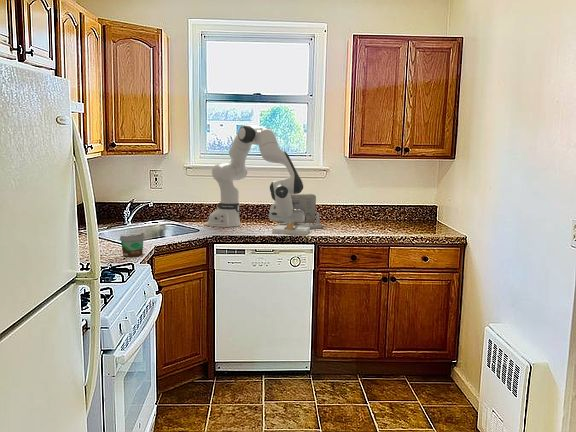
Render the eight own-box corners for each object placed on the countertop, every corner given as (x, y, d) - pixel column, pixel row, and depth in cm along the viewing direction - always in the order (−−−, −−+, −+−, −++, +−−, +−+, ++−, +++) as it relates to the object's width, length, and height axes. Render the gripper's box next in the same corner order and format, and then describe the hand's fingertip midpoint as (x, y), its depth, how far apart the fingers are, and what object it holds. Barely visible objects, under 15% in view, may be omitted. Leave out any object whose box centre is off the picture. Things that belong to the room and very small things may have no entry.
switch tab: (286, 229, 322) (286, 214, 321) (287, 228, 325) (287, 214, 324) (292, 229, 321) (293, 215, 320) (293, 228, 325) (294, 214, 323)
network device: (312, 223, 359) (313, 193, 356) (316, 226, 350) (317, 195, 347) (274, 224, 352) (274, 193, 349) (277, 227, 344) (278, 195, 341)
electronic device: (298, 213, 342) (320, 211, 347) (298, 228, 344) (320, 227, 348) (300, 214, 337) (323, 213, 342) (300, 230, 339) (323, 228, 343)
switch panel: (272, 233, 323) (272, 227, 322) (277, 229, 336) (277, 223, 336) (305, 235, 319) (306, 229, 319) (309, 231, 333) (309, 225, 332)
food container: (127, 259, 250) (127, 237, 249) (120, 257, 254) (119, 235, 253) (150, 255, 259) (150, 234, 258) (143, 253, 263) (142, 232, 262)
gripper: (304, 205, 306) (306, 220, 317) (268, 203, 310) (272, 218, 321) (302, 214, 303) (305, 229, 314) (266, 212, 307) (270, 227, 318)
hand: (288, 223), depth 317 cm, fingers closed
